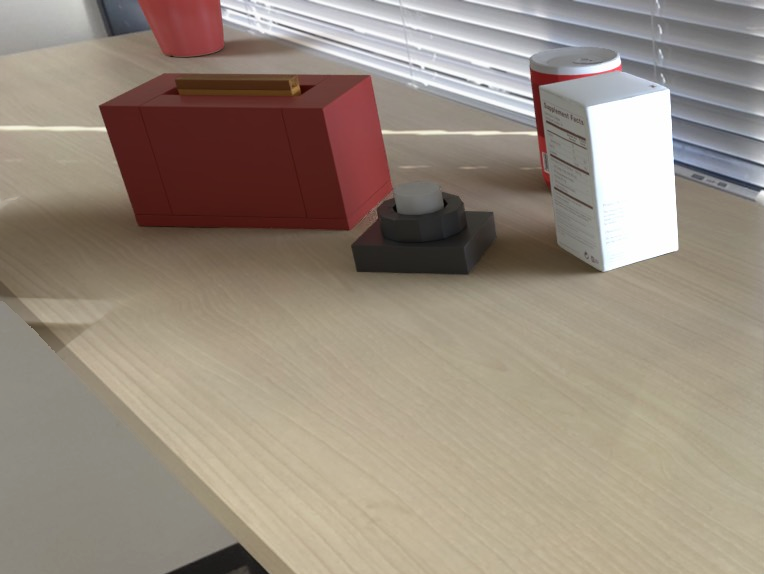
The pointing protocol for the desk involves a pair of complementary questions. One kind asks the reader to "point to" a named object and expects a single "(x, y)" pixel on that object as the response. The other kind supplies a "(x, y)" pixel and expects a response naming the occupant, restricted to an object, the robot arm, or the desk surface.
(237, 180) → the toaster
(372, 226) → the button block
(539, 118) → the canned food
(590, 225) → the white packaging box
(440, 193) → the button
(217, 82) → the toast
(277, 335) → the desk surface
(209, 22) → the flower pot
